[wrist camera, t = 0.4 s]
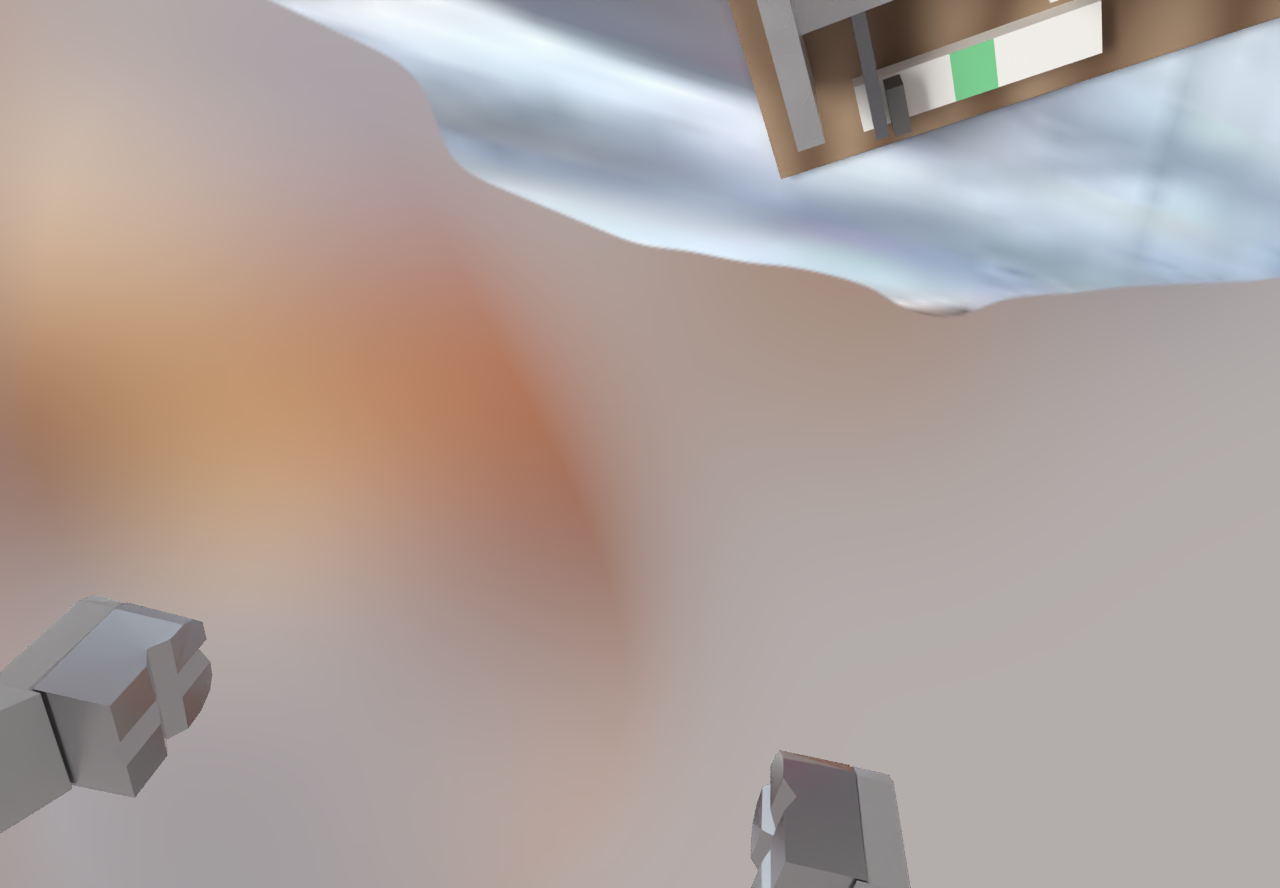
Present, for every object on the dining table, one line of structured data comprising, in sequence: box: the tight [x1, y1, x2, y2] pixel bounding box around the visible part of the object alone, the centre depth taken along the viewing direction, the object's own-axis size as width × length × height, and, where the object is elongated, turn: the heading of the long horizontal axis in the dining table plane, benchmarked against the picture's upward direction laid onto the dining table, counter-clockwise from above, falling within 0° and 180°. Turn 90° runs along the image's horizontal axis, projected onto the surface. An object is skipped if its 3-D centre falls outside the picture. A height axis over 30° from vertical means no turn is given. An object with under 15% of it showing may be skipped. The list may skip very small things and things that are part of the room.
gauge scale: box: [852, 0, 1102, 132], centre depth 50 cm, size 14×3×2 cm, turn 112°
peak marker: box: [883, 74, 912, 137], centre depth 50 cm, size 1×3×2 cm, turn 21°
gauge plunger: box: [757, 0, 893, 152], centre depth 43 cm, size 20×14×10 cm
